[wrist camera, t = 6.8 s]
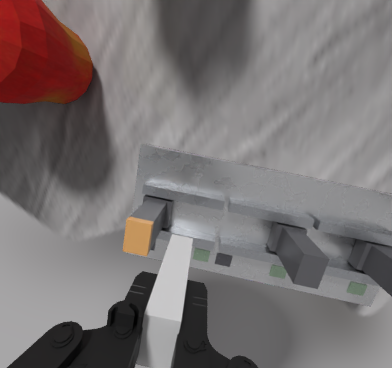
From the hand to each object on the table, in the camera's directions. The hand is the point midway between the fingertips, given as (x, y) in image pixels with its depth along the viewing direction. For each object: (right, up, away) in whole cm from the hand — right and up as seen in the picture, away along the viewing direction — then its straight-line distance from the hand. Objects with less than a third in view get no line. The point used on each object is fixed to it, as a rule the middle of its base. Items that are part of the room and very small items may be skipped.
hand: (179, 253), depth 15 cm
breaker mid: (+11, -1, +8) cm, 13 cm away
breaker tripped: (-3, +2, +8) cm, 9 cm away
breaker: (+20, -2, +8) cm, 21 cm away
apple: (-13, +17, +8) cm, 23 cm away
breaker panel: (+8, 0, +10) cm, 13 cm away
